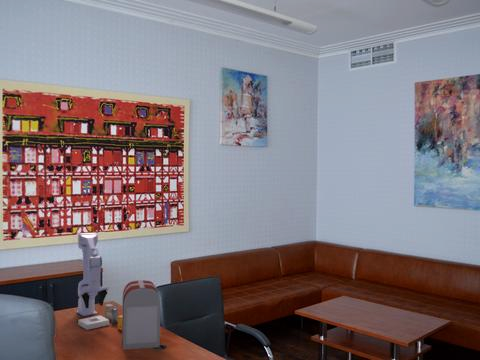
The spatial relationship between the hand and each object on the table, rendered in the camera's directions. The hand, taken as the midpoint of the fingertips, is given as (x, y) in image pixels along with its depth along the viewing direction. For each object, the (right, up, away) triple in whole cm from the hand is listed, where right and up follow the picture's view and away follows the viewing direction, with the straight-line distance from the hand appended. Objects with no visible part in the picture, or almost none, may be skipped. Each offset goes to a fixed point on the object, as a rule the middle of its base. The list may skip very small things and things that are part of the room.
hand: (94, 306), depth 242 cm
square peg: (+4, -9, +11) cm, 15 cm away
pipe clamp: (+20, -10, -6) cm, 23 cm away
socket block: (0, -9, 0) cm, 9 cm away
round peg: (+9, -10, +5) cm, 14 cm away
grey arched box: (+28, -11, -21) cm, 37 cm away
